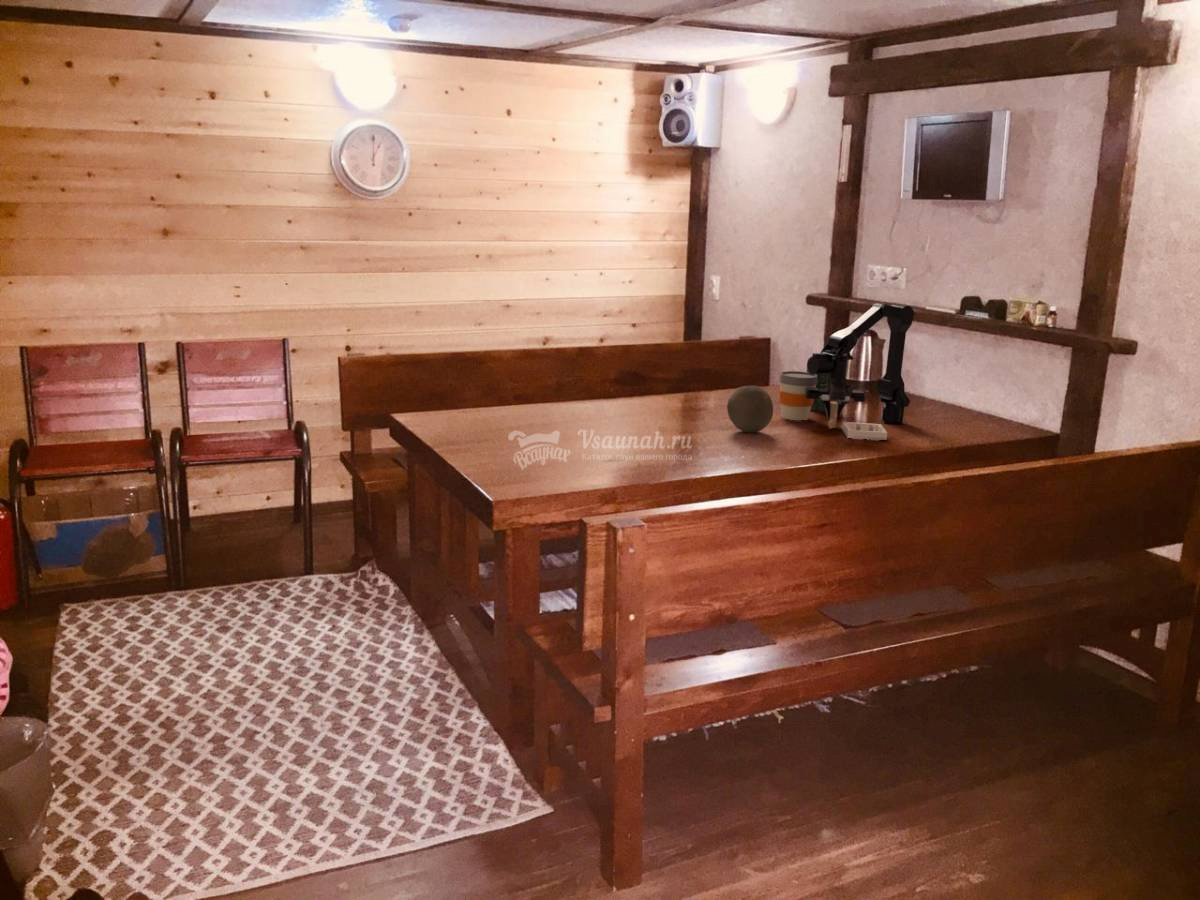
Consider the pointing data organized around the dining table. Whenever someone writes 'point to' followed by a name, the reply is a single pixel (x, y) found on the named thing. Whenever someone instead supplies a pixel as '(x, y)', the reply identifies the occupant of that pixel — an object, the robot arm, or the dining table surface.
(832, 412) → the tan cuboid brick
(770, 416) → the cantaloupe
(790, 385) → the reusable coffee cup
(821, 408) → the coffee jar
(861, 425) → the dish
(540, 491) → the dining table surface
